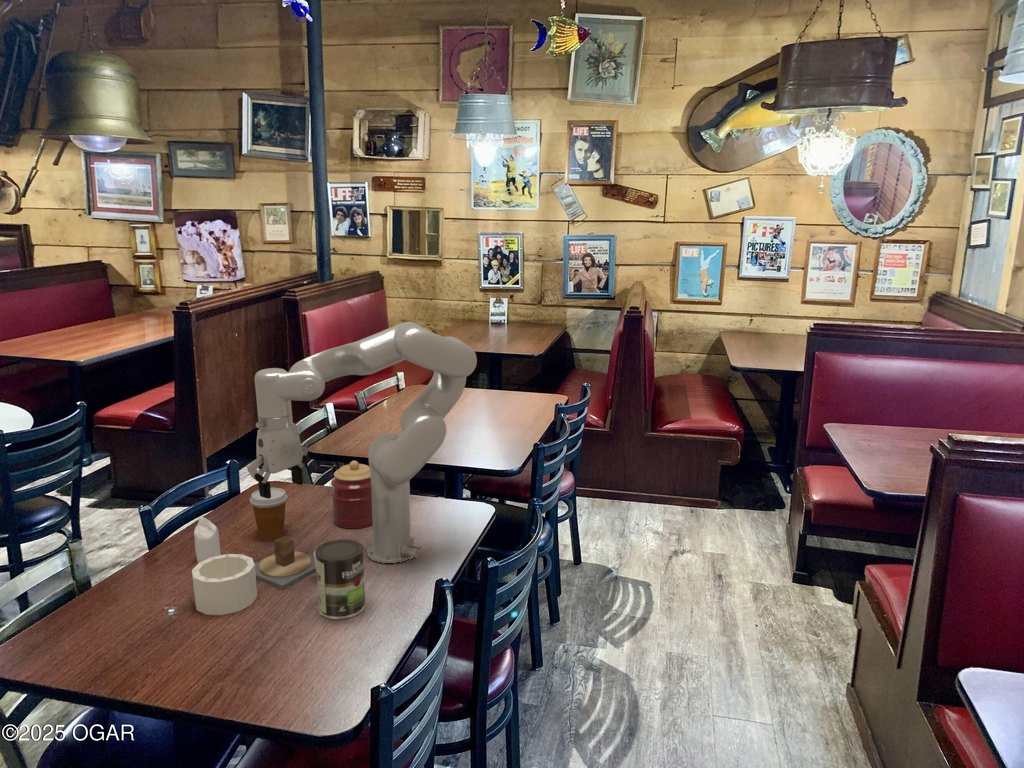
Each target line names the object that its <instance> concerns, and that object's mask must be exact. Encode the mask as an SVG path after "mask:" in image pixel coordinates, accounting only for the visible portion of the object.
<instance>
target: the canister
mask: <svg viewBox="0 0 1024 768" xmlns="http://www.w3.org/2000/svg"><path fill="white" fill-rule="evenodd" d="M333 476H334V478H333V479H332V480H331V482H330V485H331V486H332V488H333V489H332V491H331V497H332V518H333V522H334V524H335V525H336V526H338V527H340V528H343V529H344V528H345V529H363V528H366V527H370V526H373V523H372V493H371V476H370V467H369V465H366V464H363V463H359V462H358V461H357V460H352V461H350V462H349V464H345V465H342V466H341V467H340V468H338V469H336V471H335V472H333Z"/></svg>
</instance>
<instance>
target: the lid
mask: <svg viewBox="0 0 1024 768" xmlns="http://www.w3.org/2000/svg"><path fill="white" fill-rule="evenodd" d="M294 542H295V540H294V539H293V538H291V537H289V536H286V535H283V536H282V537H280V538H278V539H274V540H273V544H274V553H273V554H271V555H268V556H267V557H264V559H262V561H261V560H260V561H261V563H260V565H259V568H260V572H261V573H262V574H263V575H265V576H269V577H275V578H282V577H290V576H294V575H297V574H300V573H302V572H304V571H305V570H307V569H308V568H309V567H310V565H311V559H310V557H309V556H310V555H309V554H307V553H305V552H301V551H298V552H296V551H297V550H296V551H294V550H295V543H294ZM308 555H309V556H308Z"/></svg>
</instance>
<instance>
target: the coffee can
mask: <svg viewBox="0 0 1024 768" xmlns="http://www.w3.org/2000/svg"><path fill="white" fill-rule="evenodd" d="M364 549H365V547H364V545H363V544H362V543H361V542H359V541H357V540H354V539H345V538H344V539H343V538H342V539H334V540H333V539H332V540H330V541H327V542H324V543H322V544H320V545H318V546H317V547H316V549H315V550H314V551H315V556H316V564H317V572H316V577H317V578H316V579H317V580H316V581H317V595H318V596H317V599H318V601H317V602H318V613H319V614H320V615H321V616H322V617H323V618H326V619H330V620H346V619H351V618H353V617H356V616H358V615H359V614H361V613H362V612H363V611H364V610H365V608H366V595H365V594H366V591H365V570H364V569H365V567H364Z"/></svg>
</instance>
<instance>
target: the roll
mask: <svg viewBox="0 0 1024 768" xmlns="http://www.w3.org/2000/svg"><path fill="white" fill-rule="evenodd" d="M193 536H194V537H193V538H194V550H195V556H196V562H197V564H198V563H200V562H202V561H204V560H207V559H209V558H211V557H215V556H220V555H222V554H221V544H220V534H219V529H218V527H217V526H216V525H215V524H214V523H212V521H211V520H209V519H207V518H206V517H203V515H201V516H199V517H198V521H197V524H196V526H195V528H194V530H193Z"/></svg>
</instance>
